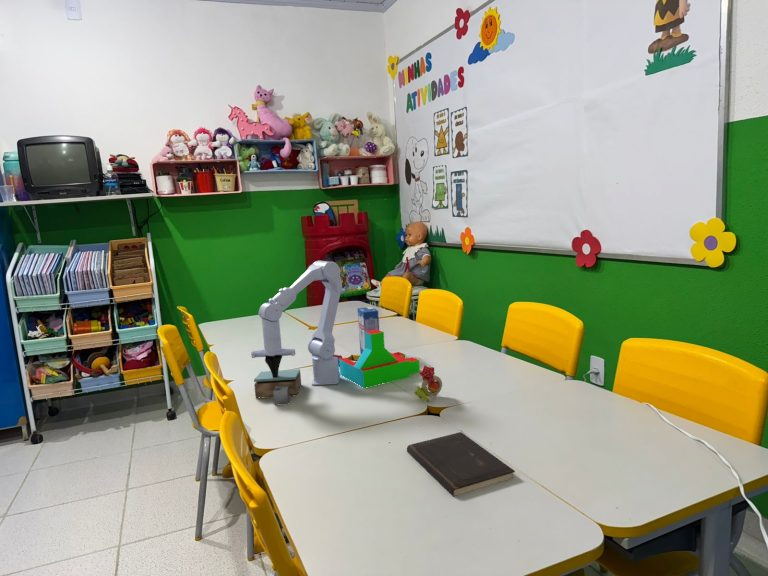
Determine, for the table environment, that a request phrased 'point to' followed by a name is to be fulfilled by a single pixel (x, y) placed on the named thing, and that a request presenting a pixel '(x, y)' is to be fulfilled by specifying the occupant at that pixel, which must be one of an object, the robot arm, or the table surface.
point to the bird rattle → (428, 380)
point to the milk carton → (367, 323)
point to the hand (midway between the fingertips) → (275, 376)
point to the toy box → (268, 386)
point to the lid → (281, 375)
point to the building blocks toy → (377, 363)
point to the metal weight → (281, 394)
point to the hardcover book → (459, 463)
